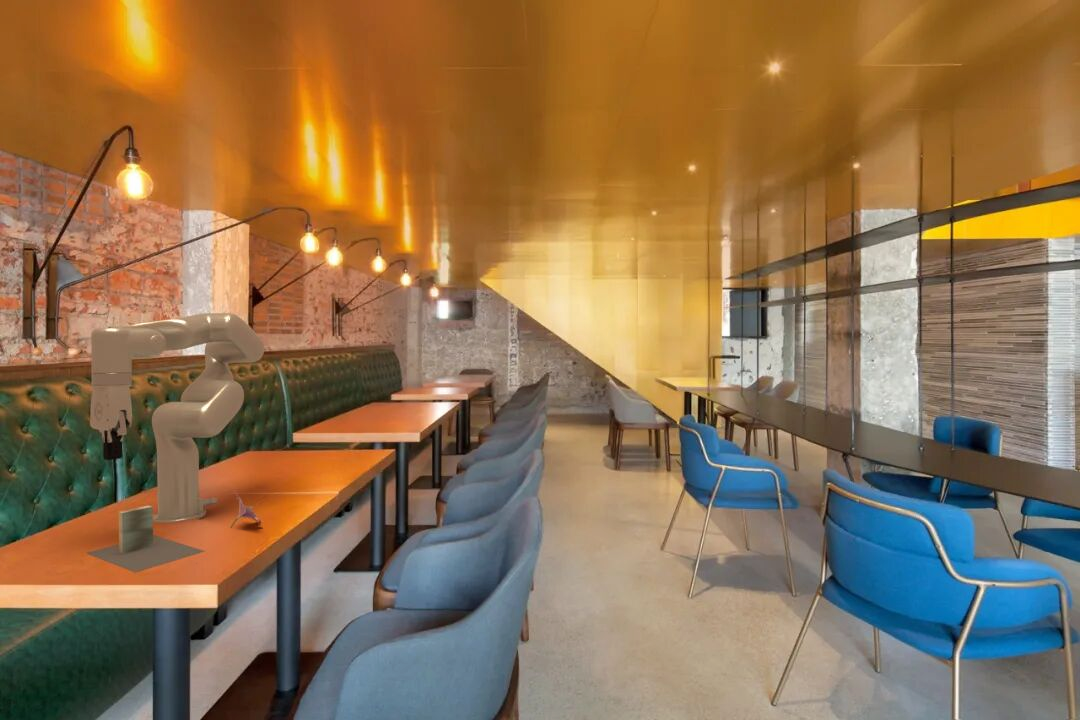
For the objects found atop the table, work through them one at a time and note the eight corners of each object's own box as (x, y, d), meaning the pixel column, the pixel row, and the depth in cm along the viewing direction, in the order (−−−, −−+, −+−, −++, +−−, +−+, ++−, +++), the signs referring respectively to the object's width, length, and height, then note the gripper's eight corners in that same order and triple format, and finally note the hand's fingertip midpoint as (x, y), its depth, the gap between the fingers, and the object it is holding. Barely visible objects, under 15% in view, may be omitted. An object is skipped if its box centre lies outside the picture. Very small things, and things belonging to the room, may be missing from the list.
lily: (251, 541, 140) (271, 503, 144) (204, 524, 139) (225, 486, 143) (261, 541, 152) (279, 506, 155) (218, 525, 150) (236, 490, 154)
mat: (154, 538, 139) (154, 535, 139) (205, 554, 128) (205, 551, 128) (85, 556, 127) (85, 552, 127) (135, 576, 116) (135, 572, 116)
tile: (148, 544, 133) (148, 505, 133) (153, 545, 132) (152, 506, 132) (119, 552, 128) (118, 511, 128) (123, 553, 127) (123, 513, 127)
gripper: (78, 380, 135) (79, 458, 135) (108, 382, 127) (109, 464, 127) (114, 379, 141) (115, 453, 141) (146, 380, 133) (146, 459, 134)
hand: (112, 458), depth 134 cm, fingers closed
